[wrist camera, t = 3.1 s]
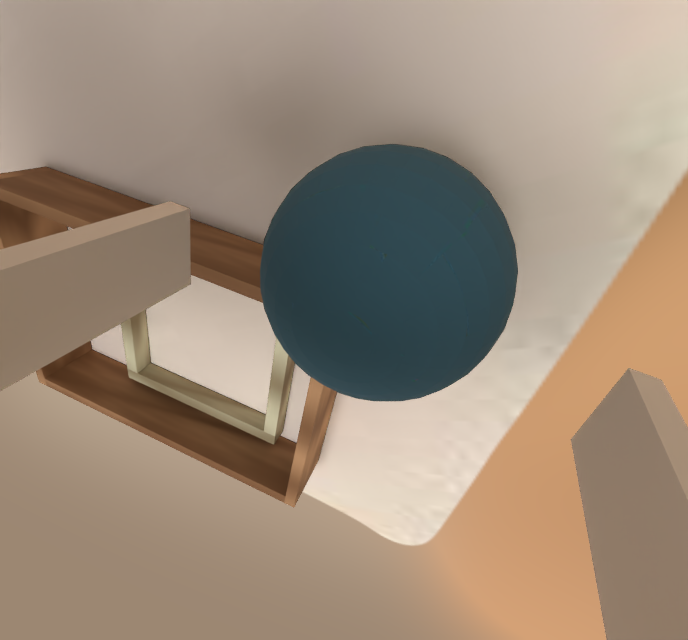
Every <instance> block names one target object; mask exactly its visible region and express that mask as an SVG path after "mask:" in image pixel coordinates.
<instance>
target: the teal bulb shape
mask: <svg viewBox="0 0 688 640" xmlns="http://www.w3.org/2000/svg"><path fill="white" fill-rule="evenodd" d="M517 274H518V267H517V258H516V249H515V243H514V240H513V238H512V235H511V232H510V229H509V226H508V223H507V221H506V218H505V216H504V214H503V212H502V210H501V209H500V207H499V206H498V204H497V202H496V201H495V199H494V198H493V196H492V194H491V193H490V191H489V190H488V189H487V188H486V187H485V186H484V185H483V184H482V183H481V182H480V181H479V180H478V179H477V178H476V177H475V176H474V175H473V174H472V173H471V172H470V171H468V170H467V169H465V168H464V167H462V166H461V165H459V164H457V163H456V162H454V161H453V160H451V159H450V158H448V157H446V156H443V155H440V154H437V153H435V152H432V151H429V150H427V149H424V148H419V147H412V146H405V145H397V144H388V145H375V146H364V147H360V148H357V149H354V150H351V151H348V152H344V153H341V154H339V155H337V156H335V157H333V158H332V159H330V160H328V161H327V162H325V163H323V164H321V165H320V166H318V167H317V168H315V169H314V170H312V171H311V172H309V173H308V174H307V175H306V176H305V177H304V178H303V179H302V180H301V181H300V182H298V183H297V184H296V185H295V186H294V187H293V188H292V189H291V190H290V192H289V193H288V195H287V196H286V198H285V199H284V201H283V202H282V204H281V205H280V207H279V208H278V210H277V212H276V213H275V215H274V217H273V219H272V221H271V224H270V226H269V229H268V231H267V234H266V236H265V239H264V245H263V251H262V257H261V265H260V289H261V295H262V300H263V304H264V309H265V312H266V314H267V317H268V319H269V322H270V324H271V327H272V329H273V331H274V334H275V336H276V337H277V339H278V341H279V342H280V344H281V346H282V347H283V349H284V350H285V351H286V353H287V354H288V355H289V356H290V358H291V359H292V360H293V361H294V362H295V363H296V364H297V365H298V366H299V367H300V368H301V369H302V370H303V371H304V372H306V373H307V374H308V375H309V376H310V377H312V378H313V379H315V380H316V381H318V382H319V383H321V384H322V385H324V386H326V387H328V388H330V389H332V390H334V391H336V392H339V393H341V394H344V395H348V396H351V397H354V398H358V399H364V400H370V401H405V400H410V399H416V398H421V397H424V396H426V395H429V394H432V393H434V392H437V391H440V390H442V389H443V388H445V387H447V386H449V385H451V384H453V383H454V382H456V381H457V380H459V379H461V378H462V377H464V376H465V375H467V374H468V373H469V372H470V371H471V370H472V369H474V368H475V367H476V366H477V365H478V364H479V363H480V362H481V361H482V360H483V359H484V358H485V356H486V355H487V354H488V353H489V351H490V350H491V349H492V347H493V346H494V344H495V343H496V341H497V340H498V338H499V337H500V335H501V333H502V332H503V330H504V329H505V326H506V323H507V320H508V318H509V315H510V312H511V309H512V306H513V302H514V297H515V291H516V282H517Z"/></svg>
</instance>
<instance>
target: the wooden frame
mask: <svg viewBox="0 0 688 640" xmlns="http://www.w3.org/2000/svg"><path fill="white" fill-rule="evenodd" d="M152 206H153V205H151V204H148V203H145V202H142V201H140V200H137V199H134V198H131V197H128V196H126V195H123V194H120V193H117V192H115V191H112V190H109V189H106V188H104V187H101V186H98V185H95V184H92V183H90V182H87V181H84V180H81V179H79V178H76V177H73V176H70V175H67V174H65V173H62V172H59V171H56V170H54V169H51V168H48V167H41V168H34V169H27V170H21V171H14V172H8V173H1V174H0V250H1V249H4V248H8V247H11V246H15V245H18V244H22V243H25V242H29V241H32V240H36V239H40V238H43V237H47V236H50V235H54V234H57V233H61V232H64V231H67V226H68V227H71V228H73V229H75V228H78V227H82V226H85V225H89V224H92V223H96V222H99V221H103V220H106V219H110V218H113V217H117V216H120V215H124V214H127V213H131V212H134V211H138V210H141V209H145V208H148V207H152ZM262 251H263V245H262V244H259V243H256V242H253V241H250V240H248V239H245V238H242V237H239V236H237V235H234V234H231V233H228V232H226V231H223V230H220V229H217V228H214V227H212V226H209V225H206V224H203V223H201V222H198V221H195V220H192V219H190V260H191V275H193V276H196V277H198V278H201V279H204V280H206V281H209V282H211V283H214V284H216V285H219V286H221V287H224V288H226V289H229V290H232V291H234V292H237V293H239V294H242V295H244V296H247V297H249V298H252V299H255V300H257V301H260V302H262V303H263V300H262V295H261V289H260V265H261V257H262ZM121 328H122V335H123V342H124V348H125V355H126V362H127V366H126V365H124V364H122V363H120V362H118V361H115V360H113V359H111V358H109V357H107V356H105V355H102V354H100V353H98V352H96V351H94V350H92V347H91V343H90V341H89V342H87V343H85V344H83V345H82V346H80V347H78V348H76V349H74V350H73V351H71V352H69V353H67V354H66V355H64V356H62V357H60V358H58V359H57V360H55V361H53V362H51V363H50V364H48V365H46V366H44V367H42V368H41V369H39V370H37V371H36V373H37V376H38V379H39V382H40V383H42V384H44V385H47V386H49V387H51V388H53V389H55V390H57V391H59V392H61V393H63V394H65V395H67V396H69V397H71V398H73V399H75V400H77V401H79V402H81V403H83V404H85V405H87V406H90V407H91V408H93V409H95V410H97V411H100V412H101V413H103V414H105V415H107V416H109V417H111V418H113V419H116V420H118V421H120V422H122V423H124V424H126V425H128V426H130V427H132V428H134V429H136V430H138V431H140V432H142V433H144V434H146V435H148V436H150V437H152V438H154V439H156V440H158V441H160V442H162V443H164V444H166V445H168V446H170V447H172V448H174V449H176V450H178V451H180V452H183V453H184V454H186V455H189V456H191V457H193V458H195V459H197V460H199V461H201V462H203V463H205V464H207V465H209V466H211V467H213V468H215V469H217V470H219V471H221V472H223V473H225V474H227V475H229V476H231V477H233V478H235V479H237V480H239V481H241V482H243V483H245V484H247V485H249V486H251V487H253V488H255V489H257V490H260V491H262V492H264V493H266V494H268V495H270V496H272V497H274V498H276V499H278V500H280V501H282V502H284V503H286V504H288V505H290V506H292V507H295V505H296V502H297V501H298V499H299V497H300V495H301V493H302V491H303V489H304V487H305V485H306V483H307V481H308V479H309V478H310V476H311V474H312V472H313V470H314V468H315V466H316V464H317V462H318V460H319V456H320V453H321V449H322V445H323V442H324V438H325V434H326V430H327V427H328V423H329V419H330V416H331V412H332V408H333V405H334V401H335V397H336V393H337V392H336V391H334V390H332V389H330V388H328V387H326V386H324V385H322V384H321V383H319V382H318V381H316V380H315V379H313V378H312V377H311V379H310V383H309V388H308V393H307V397H306V402H305V407H304V412H303V416H302V421H301V426H300V431H299V435H298V440H297V444H296V443H294V442H292V441H290V440H288V439H286V438H283V437H281V436H280V435H281V433H282V432H283V427H284V421H285V415H286V410H287V404H288V398H289V393H290V387H291V381H292V376H293V370H294V364H295V362H294V361H293V360H292V359H291V358H290V356H289V355H288V354H287V353H286V351H285V350H284V349H283V347H282V346H281V344H280V342H279V341H278V339H277V337H276V343H275V350H274V358H273V365H272V373H271V380H270V388H269V395H268V403H267V410H266V415H265V414H263V413H260V412H258V411H256V410H254V409H252V408H249V407H247V406H245V405H243V404H240V403H238V402H236V401H234V400H232V399H229V398H227V397H225V396H223V395H220V394H218V393H216V392H214V391H212V390H209V389H207V388H205V387H203V386H201V385H198V384H196V383H194V382H192V381H189V380H187V379H185V378H183V377H181V376H178V375H176V374H174V373H172V372H169V371H167V370H165V369H163V368H161V367H158V366H156V365H154V364H152V363H151V361H150V351H149V341H148V331H147V321H146V311H145V310H144V311H142V312H140V313H138V314H137V315H135V316H133V317H131V318H130V319H128V320H126V321H124V322H122V323H121Z"/></svg>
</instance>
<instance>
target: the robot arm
mask: <svg viewBox="0 0 688 640" xmlns="http://www.w3.org/2000/svg"><path fill="white" fill-rule="evenodd" d="M190 284H191V260H190V208H187V207H184V206H181V205H179V204H176V203H173V202H170V201H169V202H166V203H162V204H159V205H155V206H152V207H148V208H145V209H141V210H138V211H134V212H131V213H127V214H124V215H120V216H117V217H113V218H110V219H106V220H103V221H99V222H96V223H92V224H89V225H85V226H82V227H78V228H75V229H71V230H68V231H64V232H61V233H57V234H54V235H50V236H47V237H43V238H40V239H36V240H32V241H29V242H25V243H22V244H18V245H15V246H11V247H8V248H4V249H1V250H0V391H2V390H3V389H5V388H7V387H8V386H10V385H12V384H14V383H15V382H18V381H19V380H21V379H23V378H25V377H26V376H28V375H30V374H31V373H34V372H35V371H37V370H39V369H41V368H42V367H44V366H46V365H48V364H50V363H51V362H53V361H55V360H57V359H58V358H60V357H62V356H64V355H66V354H67V353H69V352H71V351H73V350H74V349H76V348H78V347H80V346H82V345H83V344H85V343H87V342H89V341H90V340H92V339H94V338H96V337H98V336H99V335H101V334H103V333H105V332H106V331H108V330H110V329H112V328H114V327H115V326H117V325H119V324H121V323H122V322H124V321H126V320H128V319H130V318H131V317H133V316H135V315H137V314H138V313H140V312H142V311H144V310H146V309H147V308H149V307H151V306H153V305H154V304H156V303H158V302H160V301H162V300H163V299H165V298H167V297H169V296H171V295H172V294H174V293H176V292H178V291H179V290H181V289H183V288H185V287H187V286H188V285H190ZM571 441H572V448H573V453H574V459H575V464H576V470H577V476H578V481H579V487H580V492H581V498H582V504H583V509H584V515H585V520H586V526H587V532H588V537H589V543H590V549H591V554H592V560H593V565H594V571H595V576H596V582H597V588H598V593H599V599H600V604H601V610H602V616H603V621H604V627H605V632H606V638H607V640H688V427H687V426H686V424H685V422H684V420H683V418H682V416H681V414H680V413H679V411H678V409H677V407H676V405H675V404H674V402H673V400H672V398H671V396H670V394H669V392H668V391H667V389H666V387H665V385H664V383H663V382H662V380H660V379H657V378H655V377H652V376H650V375H647V374H644V373H641V372H639V371H636V370H633V369H630V368H629V369H628V370H627V371H626V372H625V373H624V375H623V376H622V377H621V378H620V380H619V381H618V382H617V383H616V384H615V386H614V387H613V388H612V389H611V391H610V392H609V393H608V394H607V396H606V397H605V398H604V399H603V401H602V402H601V403H600V404H599V406H598V407H597V408H596V409H595V410H594V412H593V413H592V414H591V415H590V417H589V418H588V419H587V420H586V422H585V423H584V424H583V425H582V426H581V428H580V429H579V430H578V431H577V433H576V434H575V435H574V436H573V438H572V439H571Z"/></svg>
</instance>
